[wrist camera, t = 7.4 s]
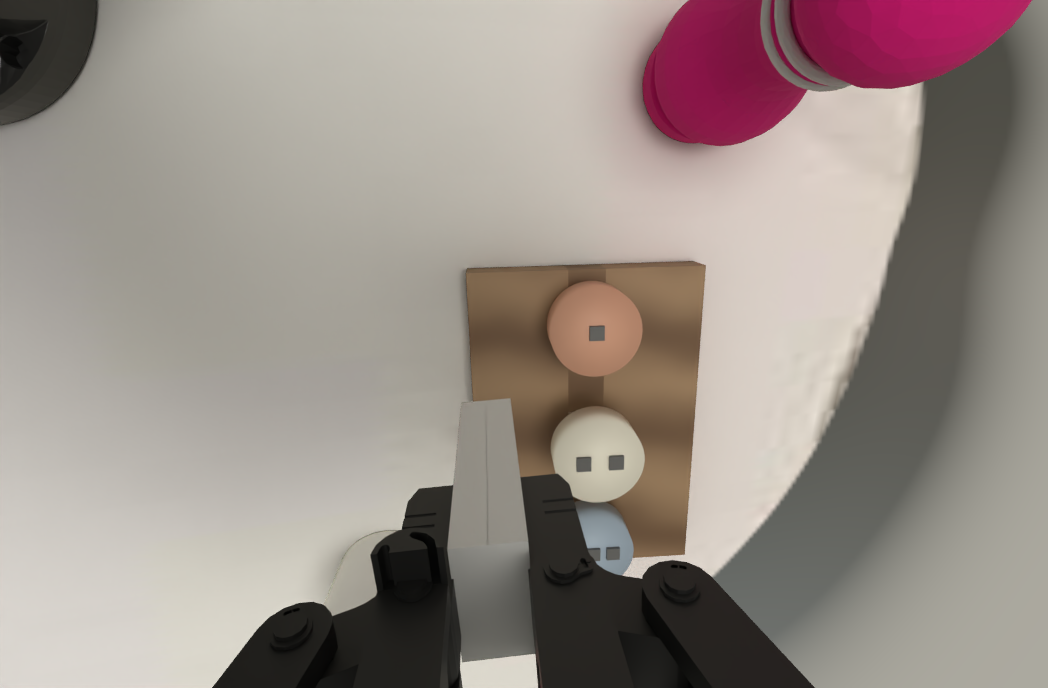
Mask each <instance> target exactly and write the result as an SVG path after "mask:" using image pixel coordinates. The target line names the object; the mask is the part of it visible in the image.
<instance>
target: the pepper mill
mask: <svg viewBox="0 0 1048 688" xmlns="http://www.w3.org/2000/svg"><path fill="white" fill-rule="evenodd" d="M1031 1H1032V0H689V1H687V2H686V3H685V4H684V5H683V6H682V7H681V8H680V9H679V11H678V12H677V13H676V14H675V15H674V17H673V18H672V20H671V21H670V23H669V25H668V26H667V28H666V30H665V32H664V34H663V36H662V39H661V41H660V42H659V43H658V45H657V46H656V48H655V49H654V51H653V52H652V54H651V56H650V58H649V60H648V62H647V65H646V68H645V73H644V77H643V96H644V102H645V105H646V108H647V111H648V114H649V115H650V117H651V119H652V121H653V122H654V124H655V125H656V126H657V127H658V128H659V129H660V130H661V131H662V132H663V133H664V134H666V135H667V136H669V137H671V138H673V139H675V140H677V141H680V142H686V143H703V144H707V145H715V146H726V145H734V144H738V143H742V142H744V141H747V140H749V139H751V138H754V137H756V136H759V135H761V134H763V133H765V132H766V131H768V130H770V129H771V128H773V127H774V126H775V125H776V124H777V123H779V122H780V121H781V120H782V119H783V118H785V117H786V116H787V115H788V114H789V113H790V112H791V111H792V110H793V109H794V108H795V107H796V106H797V104H798V103H799V102H800V101H801V99H802V98H803V96H804V95H805V93H806V91H807V90H812V91H819V92H821V91H833V90H838V89H842V88H845V87H847V86H850V85H854V86H857V87H860V88H883V89H893V88H899V87H905V86H911V85H914V84H917V83H920V82H923V81H926V80H929V79H932V78H935V77H938V76H941V75H943V74H945V73H947V72H949V71H951V70H953V69H954V68H956V67H958V66H960V65H962V64H964V63H966V62H967V61H969V60H970V59H972V58H973V57H975V56H976V55H978V54H979V53H981V52H982V51H984V50H985V49H986V48H987V47H989V46H990V45H991V44H992V43H994V42H995V41H996V40H997V39H998V38H999V37H1000V36H1002V35H1003V34H1004V33H1005V32H1006V31H1007V30H1008V29H1010V28H1011V27H1012V26H1013V25H1014V23H1015V22H1016V21H1017V20H1018V18H1019V17H1020V16H1021V14H1022V13H1023V12H1024V11H1025V10H1026V8H1027V7H1028V5H1029V4H1030V2H1031Z"/></svg>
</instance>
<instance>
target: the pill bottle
mask: <svg viewBox="0 0 1048 688" xmlns="http://www.w3.org/2000/svg"><path fill="white" fill-rule="evenodd" d="M394 532H396V531H382V532H378V533H373V534H371V535H368V536H366V537H363V538H362V539H360V540H359V541H357V542H356V543H355V544H353V545H352V546H351V547H350V548H349V549H348V551H347V552H346V554H345V555H344V557H343V559H342V561H341V563H340V566H339V568H338V571H337V573H336V576H335V578H334V580H333V583H332V585H331V588H330V590H329V593H328V595H327V598H326V600H325V602H324V605H325V606H326V607H327V609H328V610H329V611H330V612H331V614H332V616H334V615H337V614H339V613H342V612H345V611H348V610H350V609H353V608H355V607H358V606H360V605H362V604H364V603H366V602H368V601H369V600H371V599H372V598H374V597H375V596H376V594H377V588H376V583H375V578H374V572H373V567H372V562H371V557H370V554H371V552H372V551H373V549H374V547H375V545H376V544H378V543H379V542H380V541H381V540H382V539H383V538H385V537H386V536H388V535H390V534H392V533H394Z"/></svg>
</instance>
